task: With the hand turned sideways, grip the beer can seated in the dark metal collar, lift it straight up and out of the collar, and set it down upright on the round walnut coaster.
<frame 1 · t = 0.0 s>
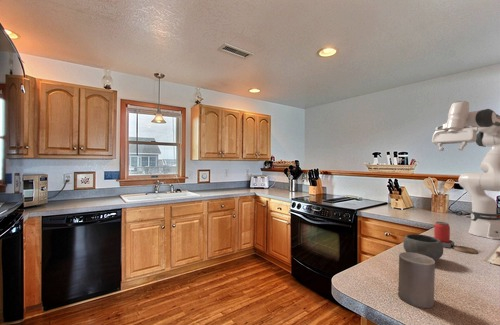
hand: (450, 150, 136), 52 cm above the counter, tool tilted 20°, fingers open, 8 cm apart
beer can: (441, 245, 131), resting in can collar
bowl: (422, 260, 111), on the counter
can collar: (441, 244, 131), on the counter
pillar candle: (415, 300, 78), on the counter
walnut coaster: (464, 250, 123), on the counter
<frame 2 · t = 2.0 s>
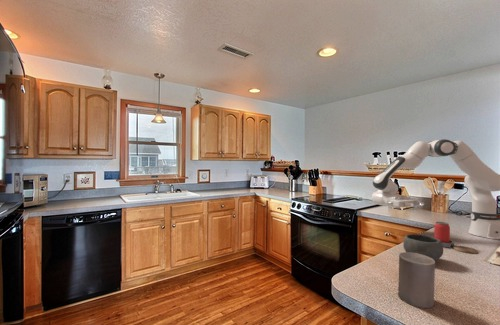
hand: (418, 204, 142), 20 cm above the counter, tool horizontal, fingers open, 8 cm apart
nothing on the counter moved.
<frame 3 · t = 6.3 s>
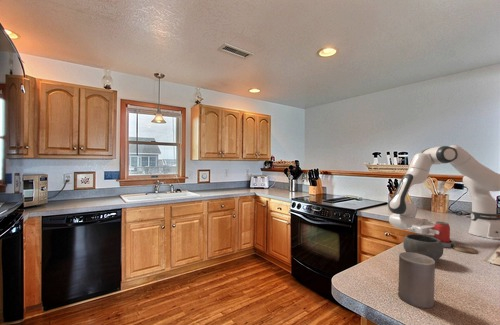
hand: (443, 232, 131), 7 cm above the counter, tool horizontal, fingers closed on beer can, 6 cm apart
beer can: (441, 245, 131), resting in can collar, touching gripper
everything else where it was.
when the fingers open (10 cm above the counter, at t = 10.6 s): beer can stays where it is, resting on walnut coaster.
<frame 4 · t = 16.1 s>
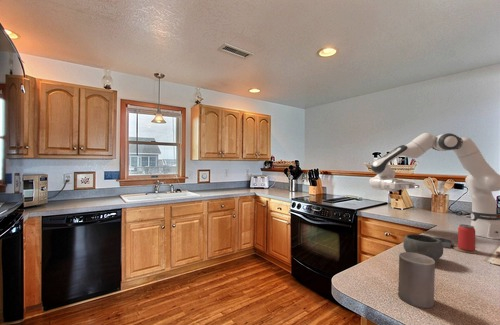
hand: (414, 186, 148), 30 cm above the counter, tool horizontal, fingers open, 8 cm apart
beer can: (466, 249, 122), point 1 cm above the counter, touching walnut coaster
everything else where it was.
at the end: beer can 0.8 cm off-centre on the walnut coaster, point 0.6 cm above the walnut coaster's base; beer can tilted 0°; the gripper is holding nothing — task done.
